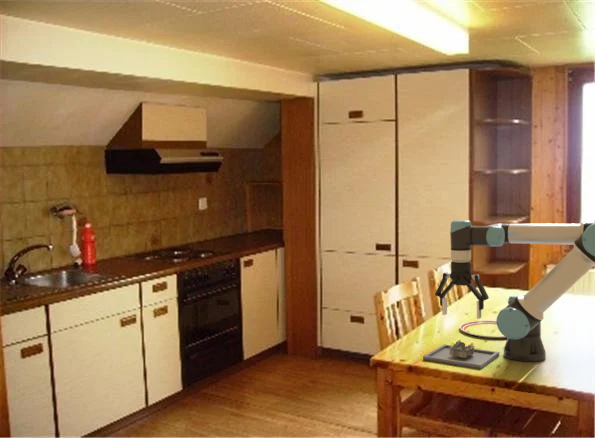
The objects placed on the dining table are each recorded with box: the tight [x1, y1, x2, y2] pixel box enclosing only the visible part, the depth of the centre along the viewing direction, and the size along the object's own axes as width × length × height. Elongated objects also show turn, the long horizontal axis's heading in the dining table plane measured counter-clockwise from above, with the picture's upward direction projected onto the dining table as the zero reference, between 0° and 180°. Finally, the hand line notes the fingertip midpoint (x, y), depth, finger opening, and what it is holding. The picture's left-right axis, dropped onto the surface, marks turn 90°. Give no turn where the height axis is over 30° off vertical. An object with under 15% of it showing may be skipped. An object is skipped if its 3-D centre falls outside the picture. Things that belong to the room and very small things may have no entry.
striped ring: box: [459, 320, 507, 339], centre depth 274 cm, size 28×27×3 cm
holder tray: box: [422, 344, 500, 370], centre depth 238 cm, size 22×20×2 cm
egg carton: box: [448, 340, 476, 358], centre depth 239 cm, size 11×8×4 cm
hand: (461, 316), depth 238 cm, fingers open, 13 cm apart
